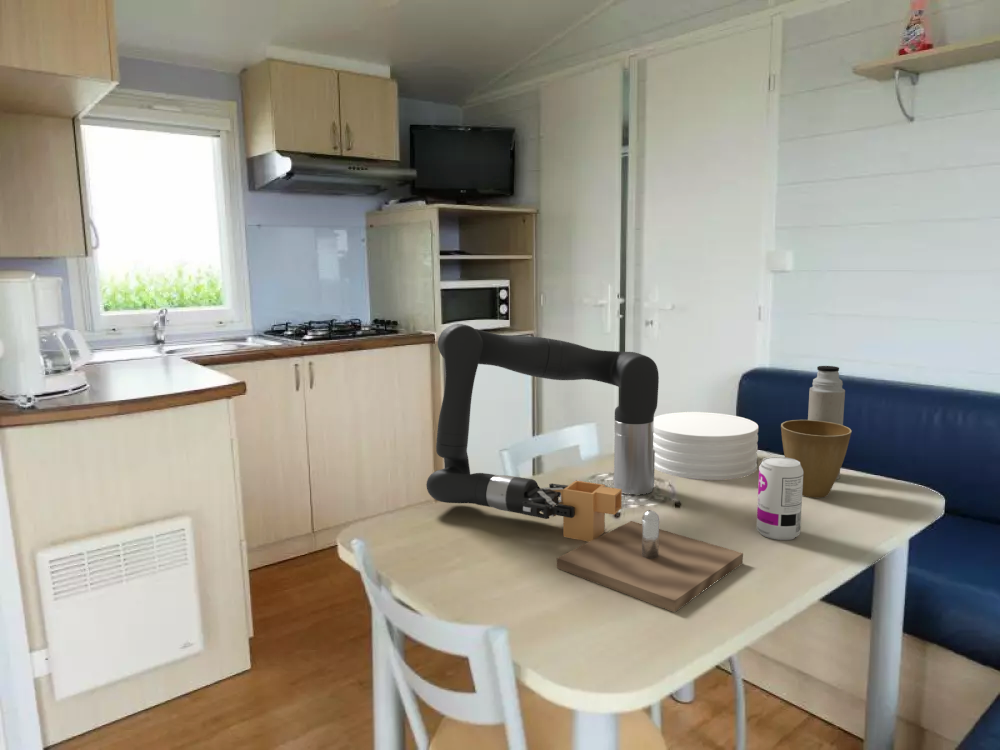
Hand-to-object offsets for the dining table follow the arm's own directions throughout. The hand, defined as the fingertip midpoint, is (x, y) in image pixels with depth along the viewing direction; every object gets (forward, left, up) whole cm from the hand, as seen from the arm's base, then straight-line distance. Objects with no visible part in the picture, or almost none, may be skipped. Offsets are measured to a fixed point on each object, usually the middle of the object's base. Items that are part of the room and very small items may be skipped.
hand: (582, 505), depth 141 cm
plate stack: (-60, -6, -6) cm, 61 cm away
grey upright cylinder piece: (+4, +18, -4) cm, 19 cm away
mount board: (+4, +18, -6) cm, 20 cm away
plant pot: (-55, +25, -6) cm, 61 cm away
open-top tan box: (-1, +2, -6) cm, 6 cm away
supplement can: (-26, +29, -6) cm, 40 cm away
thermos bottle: (-70, +22, -6) cm, 74 cm away
